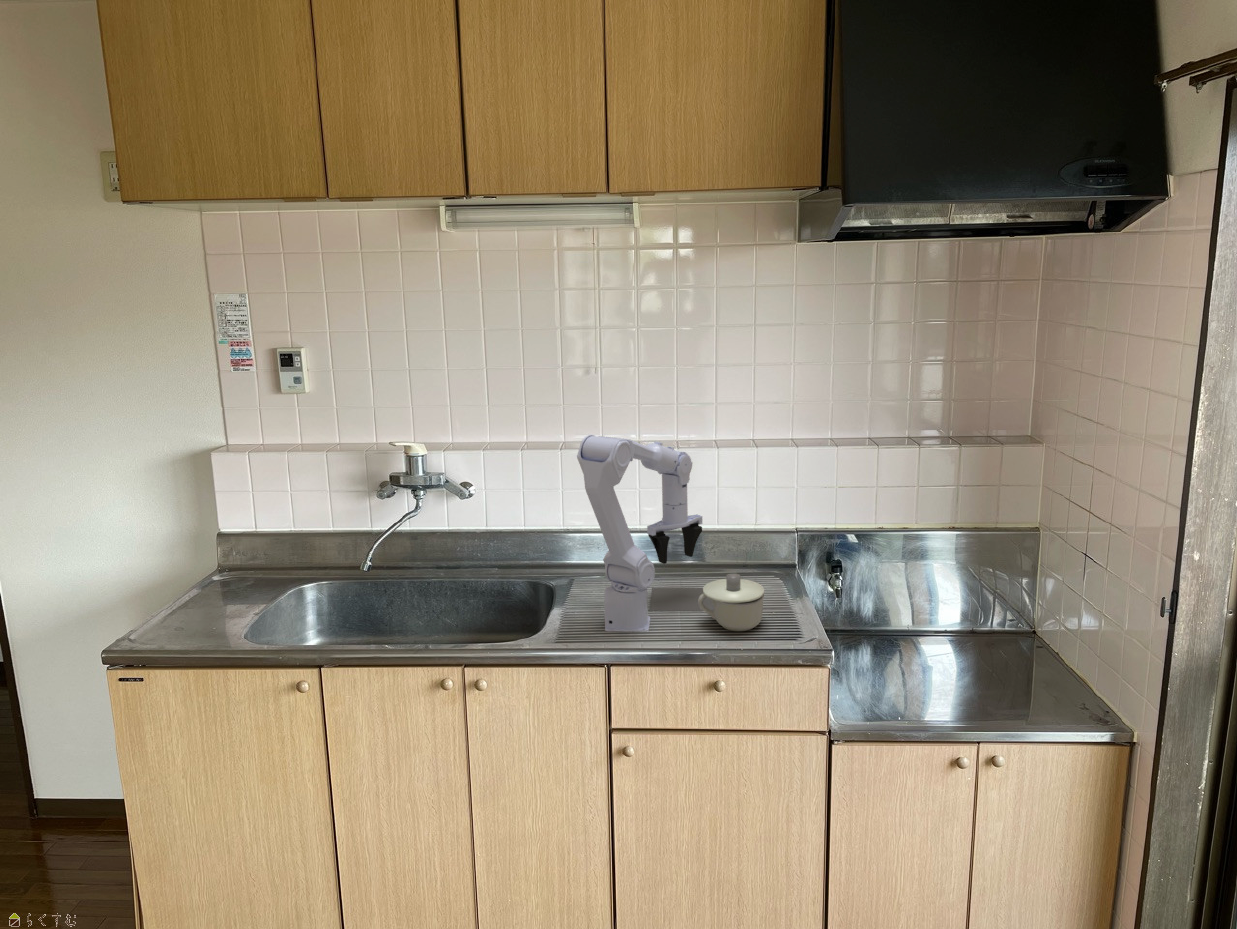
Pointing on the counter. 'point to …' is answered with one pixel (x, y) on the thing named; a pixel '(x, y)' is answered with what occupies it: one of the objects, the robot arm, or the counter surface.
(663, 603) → the mat
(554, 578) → the counter surface
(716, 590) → the lid
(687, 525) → the robot arm
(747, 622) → the teacup
